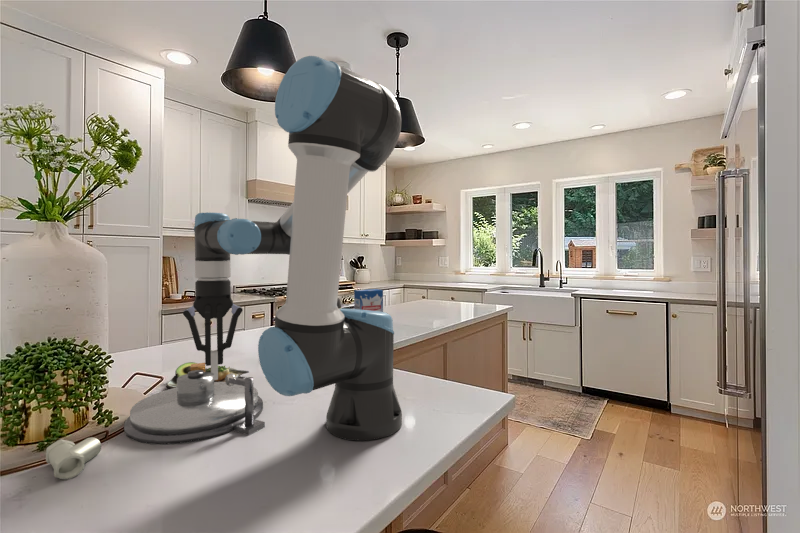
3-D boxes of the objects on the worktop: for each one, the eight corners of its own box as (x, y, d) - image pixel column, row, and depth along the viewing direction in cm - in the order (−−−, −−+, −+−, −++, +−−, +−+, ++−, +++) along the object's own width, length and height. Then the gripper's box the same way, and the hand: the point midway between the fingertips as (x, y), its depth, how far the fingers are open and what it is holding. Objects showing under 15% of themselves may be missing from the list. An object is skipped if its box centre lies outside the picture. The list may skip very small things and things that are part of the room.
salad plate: (251, 369, 119) (251, 354, 119) (245, 389, 102) (245, 371, 102) (180, 375, 114) (179, 359, 114) (160, 396, 97) (160, 377, 97)
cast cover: (214, 402, 83) (214, 374, 83) (176, 408, 80) (175, 378, 80) (214, 392, 89) (213, 365, 89) (178, 397, 86) (178, 369, 86)
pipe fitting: (96, 453, 70) (45, 465, 64) (97, 430, 70) (47, 441, 65) (109, 469, 64) (55, 484, 59) (111, 444, 65) (57, 457, 59)
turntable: (265, 419, 79) (265, 384, 79) (119, 445, 68) (118, 405, 68) (251, 384, 101) (251, 356, 100) (139, 399, 90) (138, 369, 90)
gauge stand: (264, 426, 79) (264, 375, 79) (248, 435, 75) (248, 381, 75) (235, 419, 82) (234, 370, 82) (218, 426, 79) (218, 375, 79)
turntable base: (271, 426, 79) (271, 421, 79) (111, 456, 67) (111, 450, 67) (255, 387, 102) (255, 383, 102) (134, 404, 90) (134, 400, 90)
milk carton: (360, 342, 155) (360, 291, 154) (354, 339, 160) (354, 289, 160) (383, 339, 160) (383, 290, 159) (376, 336, 165) (376, 288, 165)
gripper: (241, 277, 100) (242, 370, 101) (182, 278, 94) (184, 377, 95) (244, 279, 93) (245, 379, 94) (180, 280, 87) (182, 387, 88)
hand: (214, 378), depth 94 cm, fingers closed
